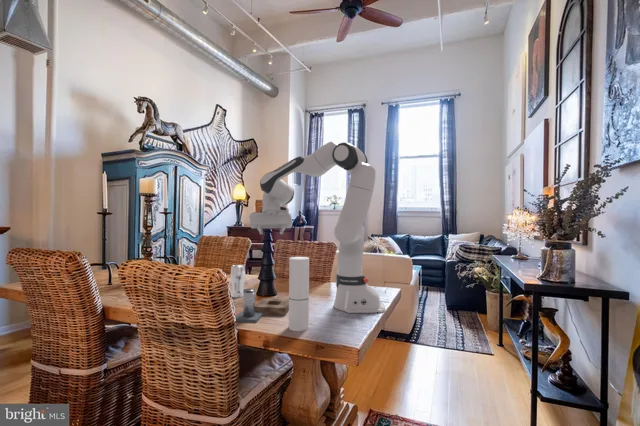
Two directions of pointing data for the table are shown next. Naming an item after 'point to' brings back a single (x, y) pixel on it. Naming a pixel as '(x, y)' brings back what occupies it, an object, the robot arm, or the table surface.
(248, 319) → the slate mat
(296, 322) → the cylindrical container
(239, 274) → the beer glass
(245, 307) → the metal plug
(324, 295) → the table surface
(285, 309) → the walnut bore block
